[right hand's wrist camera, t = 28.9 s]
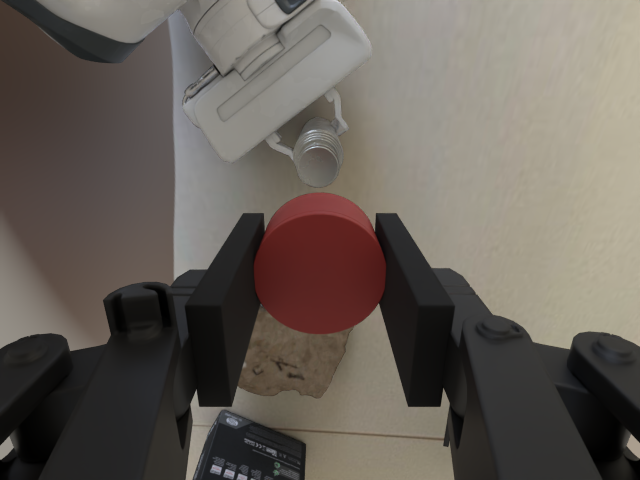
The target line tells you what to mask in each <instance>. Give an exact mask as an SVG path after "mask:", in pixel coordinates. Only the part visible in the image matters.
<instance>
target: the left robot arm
mask: <svg viewBox="0 0 640 480" xmlns="http://www.w3.org/2000/svg"><path fill="white" fill-rule="evenodd" d="M2 1H3V2H5V3H6V4H8V5H9V6H11V7H12V8H14V9H15V10H17V11H18V12H20V13H21V14H23V15H24V16H25V17H27V18H29V19H30V20H31V21H32V22H34V23H35V24H36V25H37V26H38V27H39V28H40V29H41V30H42V31H44V32H45V33H46V34H47V35H48V36H49V37H50V38H52V39H53V40H54V41H55V42H57V43H58V44H59V45H61V46H62V47H64V48H65V49H67V50H68V51H69V52H71V53H72V54H74V55H75V56H77V57H79V58H81V59H85V60H89V61H94V62H102V63H121V62H123V61H124V60H125V59H126V58H127V57H128V56H129V55H130V54H131V53H132V52H133V51H134V50H135V48H136V47H137V46H138V45H139V44H140V43H141V42H142V41H143V40H144V39H145V37H146V36H147V35H148V34H149V33H150V32H151V31H153V30H154V29H155V28H156V27H157V26H159V25H160V24H161V23H162V22H163V21H164V20H166V19H167V18H168V17H169V16H170V15H171V14H173V13H174V12H175V11H176V10H177V9H178V10H179V11H180V13H181V14H182V15H183V17H184V18H185V20H186V22H187V24H188V27H189V30H190V32H191V33H192V35H193V37H194V38H195V39H196V41H197V42H198V43H199V45H200V46H201V47H202V49H203V50H204V51H205V53H206V54H207V56H208V57H209V58H210V60H211V61H212V62H213V63H214V65H213V66H212V67H211V68H210V69H209V70H207V71H206V72H205V73H204V74H203V75H202V76H201V77H200V78H199V79H198V80H197V82H195V83H194V84H191V85H190V86H189V87H188V88H187V89H186V90H185V96H184V98H183V102H182V107H183V110H184V112H185V114H186V115H187V117H188V118H189V119H190V120H191V122H192V123H193V124H194V125H195V126H196V127H198V128H200V129H201V130H202V131H203V133H204V135H205V137H206V138H207V140H208V141H209V143H210V144H211V146H212V147H213V149H214V150H215V152H216V153H217V155H218V156H219V157H220V158H221V160H223V161H225V162H229V163H234V162H236V161H237V160H238V159H240V158H241V157H242V156H244V155H245V154H246V153H247V152H249V151H250V150H251V149H253V148H254V147H255V146H256V145H258V144H259V143H260V142H262V141H263V140H264V139H265V141H266V142H267V143H268V145H269V146H270V147H271V148H272V149H275V150H277V151H279V152H281V153H284V154H286V155H289V157H290V158H291V159H292V161H293V150H294V149H293V148H291V147H289V146H286V145H284V144H282V143H280V142H279V141H280V140H281V139H282V137H281V136H280V135H279V133H278V132H277V129H279V128H280V127H281V126H283V125H284V124H285V123H287V122H288V121H289V120H290V119H292V118H293V117H294V116H296V115H297V114H298V113H300V112H301V111H302V110H304V109H305V108H306V107H307V106H309V105H310V104H311V103H313V102H314V101H315V100H317V99H318V98H319V97H321V96H322V95H324V96H325V98H326V99H327V101H328V102H329V103H331V102H332V101H333V100H334V111H335V119H333V120H332V121H331V122H330V124H331V126H332V127H333V128H334V129H335V131H336V133H337V135H338V136H340V135H342V134H343V133H345V132H346V131H347V130H349V127H348V126H347V124H346V123H345V121H344V120H343V118H342V117H341V115H342V114H341V100H340V95H339V93H338V92H337V90H336V89H335V87H334V86H335V85H336V84H338V83H339V82H340V81H341V80H343V79H344V78H345V77H347V76H348V75H349V74H351V73H352V72H353V71H355V70H356V69H357V68H359V67H360V66H361V65H363V64H364V63H365V62H366V61H368V60H369V59H370V58H371V54H372V44H371V42H370V41H369V39H368V37H367V36H366V34H365V33H364V31H363V30H362V28H361V27H360V25H359V24H358V23H357V21H356V20H355V19H354V18H353V16H352V15H351V14H350V13H349V11H348V10H347V9H346V8H345V7H344V6H343V5H342V4H341V3H340V2H339V1H337V0H2ZM221 74H222V75H221ZM204 87H205V88H204ZM188 98H190V100H189V101H188V102H187V103H186V101H187V99H188ZM293 162H294V161H293Z"/></svg>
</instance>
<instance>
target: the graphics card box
mask: <svg viewBox="0 0 640 480" xmlns="http://www.w3.org/2000/svg"><path fill="white" fill-rule="evenodd" d="M305 458H306V444H305V443H302V442H300V441H297V440H295V439H293V438H290V437H288V436H285V435H283V434H281V433H278V432H276V431H273V430H271V429H269V428H266V427H264V426H261V425H259V424H257V423H254V422H252V421H249V420H247V419H245V418H242V417H240V416H237V415H235V414H233V413H230V412H228V411H225V410H222V411H221V412H220V414H219V416H218V417H217V419H216V421H215V423H214V424H213V426H212V428H211V429H210V431H209V433H208V435H207V439H206V441H205V444H204V447H203V450H202V453H201V456H200V459H199V462H198V465H197V468H196V471H195V474H194V477H193V480H305Z"/></svg>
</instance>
